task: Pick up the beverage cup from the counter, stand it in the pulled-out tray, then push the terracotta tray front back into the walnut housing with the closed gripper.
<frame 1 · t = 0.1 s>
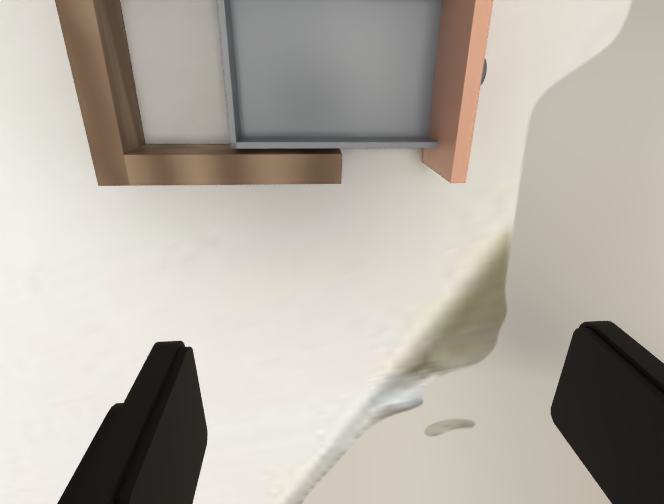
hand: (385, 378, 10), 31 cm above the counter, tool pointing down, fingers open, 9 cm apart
housing: (240, 68, 35), on the counter
tray: (348, 70, 31), point 4 cm above the counter, slide at 8.0 cm
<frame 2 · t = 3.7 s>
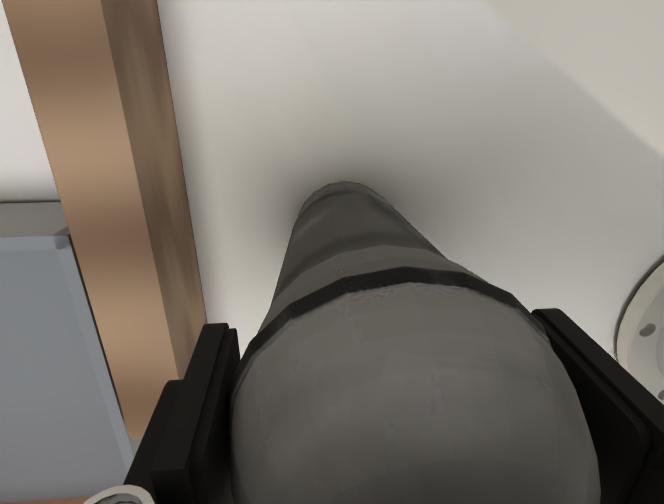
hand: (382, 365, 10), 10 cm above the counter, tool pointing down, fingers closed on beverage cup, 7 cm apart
beverage cup: (343, 226, 19), on the counter, touching gripper
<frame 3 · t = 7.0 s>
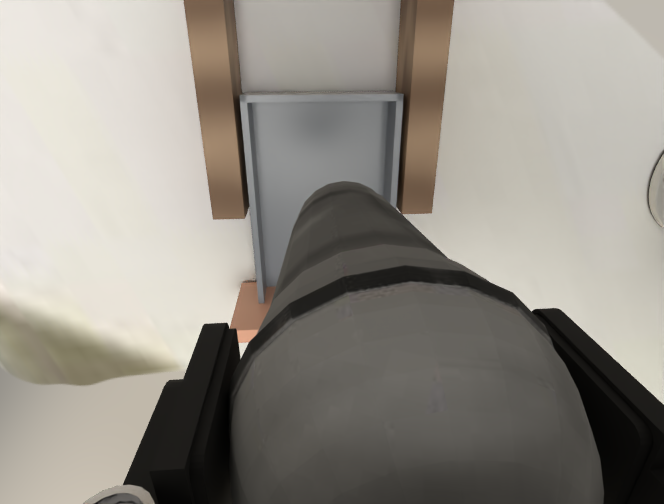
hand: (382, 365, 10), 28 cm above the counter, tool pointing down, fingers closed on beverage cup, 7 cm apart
housing: (319, 101, 34), on the counter
beverage cup: (343, 225, 19), point 18 cm above the counter, touching gripper
tray: (324, 218, 33), point 4 cm above the counter, slide at 8.0 cm
when the fingers open (12 cm above the counter, at t = 10.5 s): beverage cup stays where it is, resting on tray.
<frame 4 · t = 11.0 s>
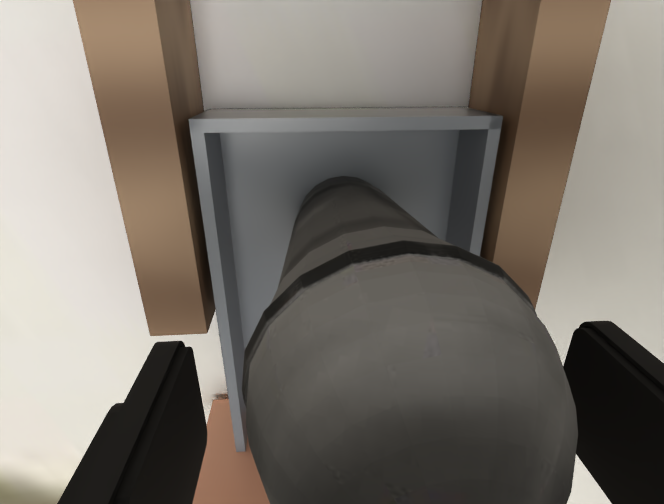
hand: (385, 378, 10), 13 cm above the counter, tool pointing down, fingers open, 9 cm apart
housing: (339, 123, 20), on the counter
beverage cup: (342, 218, 20), point 1 cm above the counter, touching tray
tray: (346, 327, 19), point 4 cm above the counter, slide at 8.0 cm, touching beverage cup
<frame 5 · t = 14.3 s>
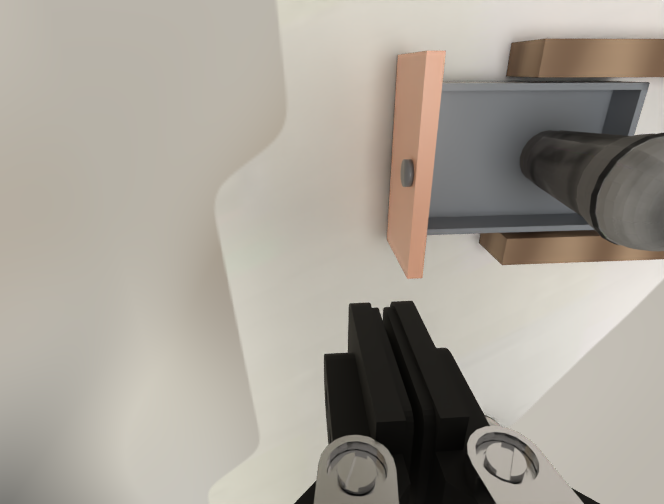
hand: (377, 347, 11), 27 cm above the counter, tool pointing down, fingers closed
housing: (582, 151, 37), on the counter
beverage cup: (543, 156, 36), point 1 cm above the counter, touching tray
tray: (513, 163, 32), point 4 cm above the counter, slide at 8.0 cm, touching beverage cup
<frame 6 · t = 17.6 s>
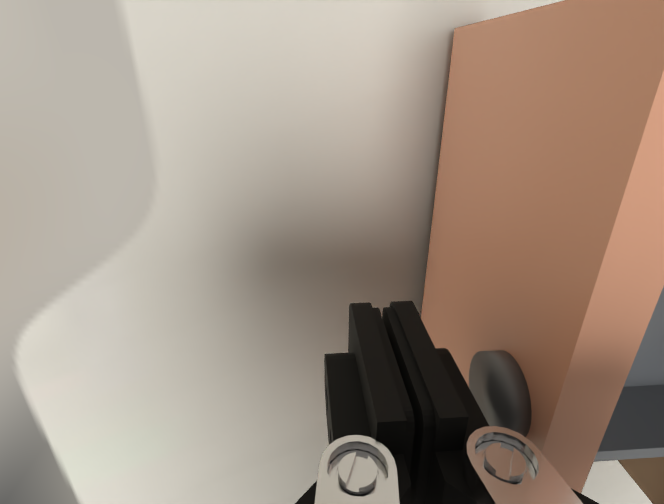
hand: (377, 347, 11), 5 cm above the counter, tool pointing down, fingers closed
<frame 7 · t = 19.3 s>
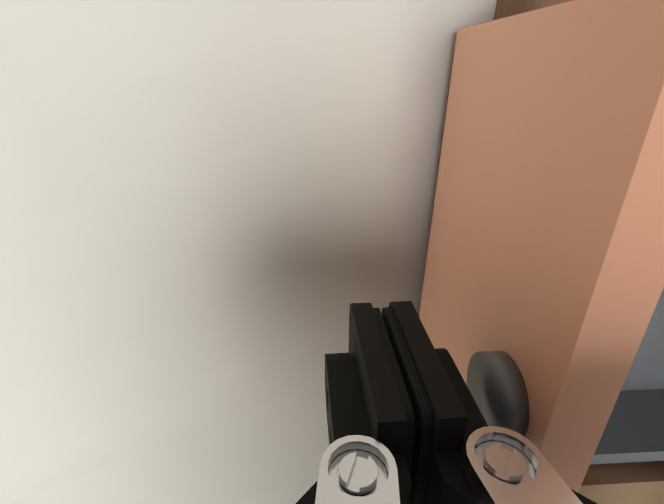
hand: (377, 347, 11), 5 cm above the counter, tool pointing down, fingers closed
housing: (653, 260, 16), on the counter
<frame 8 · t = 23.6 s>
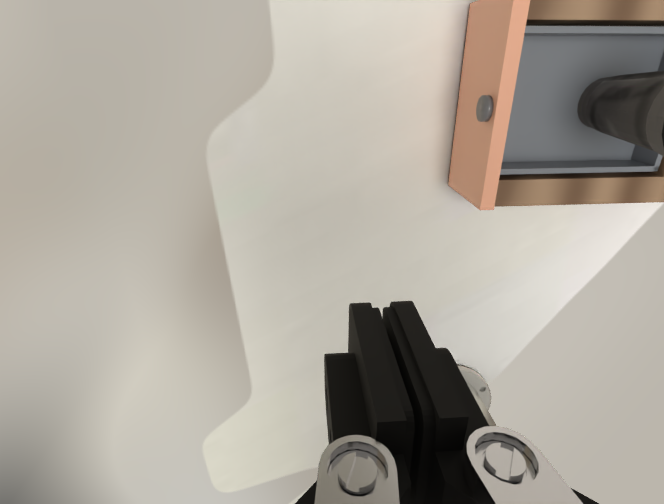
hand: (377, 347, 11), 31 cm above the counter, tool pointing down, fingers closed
housing: (555, 101, 39), on the counter
beverage cup: (599, 102, 38), point 1 cm above the counter, touching tray
tray: (576, 105, 35), point 4 cm above the counter, slide at 0.0 cm, touching beverage cup
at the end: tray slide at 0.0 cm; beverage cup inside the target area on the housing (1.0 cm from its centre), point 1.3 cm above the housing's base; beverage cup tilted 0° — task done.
